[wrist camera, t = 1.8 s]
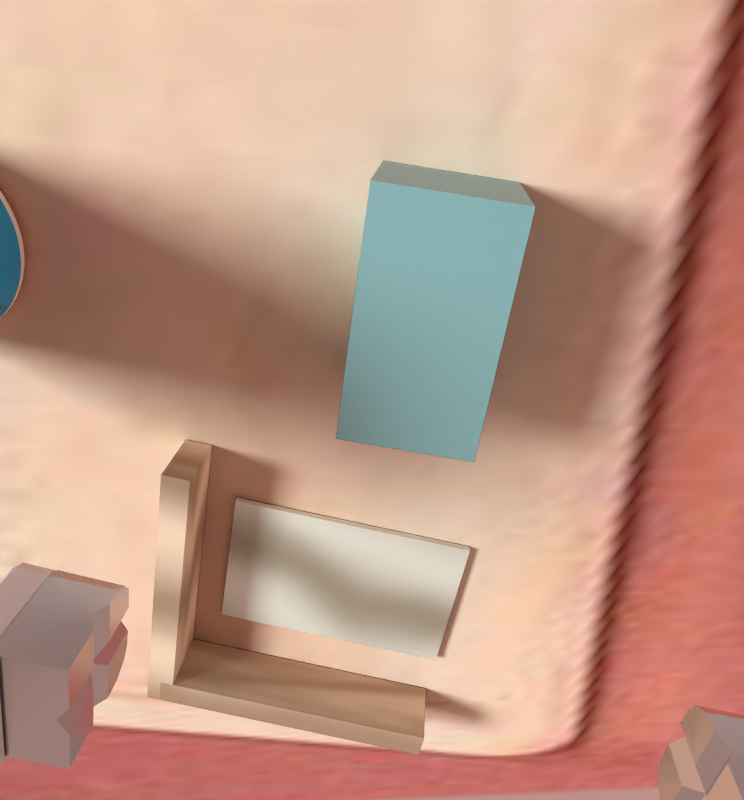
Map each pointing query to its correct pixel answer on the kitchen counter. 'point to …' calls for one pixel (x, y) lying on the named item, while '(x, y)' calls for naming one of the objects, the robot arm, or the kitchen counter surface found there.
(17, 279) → the beverage bottle
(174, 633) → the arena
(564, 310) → the kitchen counter surface
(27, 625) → the robot arm
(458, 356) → the teal block
